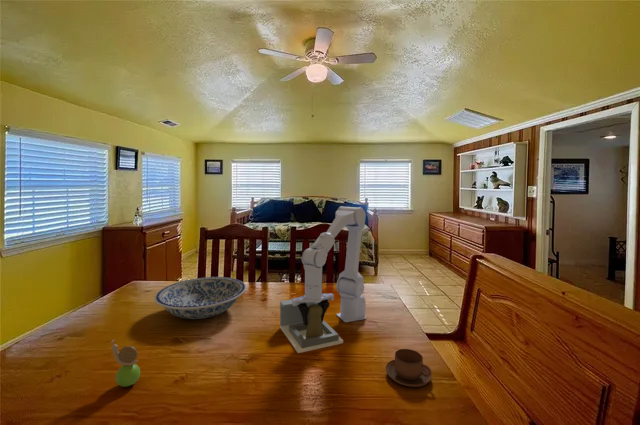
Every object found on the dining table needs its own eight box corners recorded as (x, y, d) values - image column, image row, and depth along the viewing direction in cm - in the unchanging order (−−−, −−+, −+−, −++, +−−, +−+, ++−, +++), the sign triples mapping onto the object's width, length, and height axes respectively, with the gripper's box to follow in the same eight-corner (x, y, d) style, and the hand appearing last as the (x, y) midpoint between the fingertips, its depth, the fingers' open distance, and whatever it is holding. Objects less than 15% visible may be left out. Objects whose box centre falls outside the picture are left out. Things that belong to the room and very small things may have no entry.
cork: (323, 342, 101) (323, 309, 100) (304, 341, 101) (305, 308, 101) (323, 333, 107) (324, 302, 106) (306, 332, 108) (306, 302, 107)
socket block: (319, 320, 120) (320, 295, 119) (343, 343, 103) (343, 313, 102) (280, 327, 113) (280, 301, 113) (297, 353, 96) (298, 322, 95)
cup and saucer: (430, 369, 89) (431, 349, 88) (431, 396, 77) (432, 372, 77) (388, 361, 93) (388, 341, 92) (382, 385, 81) (383, 363, 81)
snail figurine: (119, 378, 82) (117, 335, 82) (144, 377, 83) (143, 334, 82) (107, 392, 77) (105, 345, 76) (134, 391, 78) (132, 345, 77)
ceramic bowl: (134, 322, 117) (133, 296, 116) (200, 293, 148) (200, 273, 147) (205, 340, 104) (205, 311, 103) (262, 304, 135) (262, 282, 135)
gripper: (297, 290, 98) (296, 331, 99) (338, 284, 104) (337, 324, 105) (290, 283, 104) (289, 323, 105) (328, 279, 110) (328, 316, 111)
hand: (312, 323), depth 105 cm, fingers closed on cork, 5 cm apart
